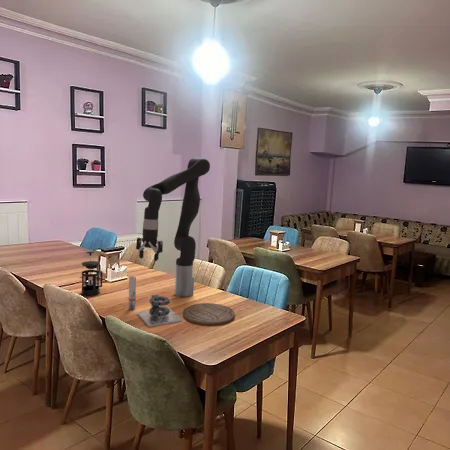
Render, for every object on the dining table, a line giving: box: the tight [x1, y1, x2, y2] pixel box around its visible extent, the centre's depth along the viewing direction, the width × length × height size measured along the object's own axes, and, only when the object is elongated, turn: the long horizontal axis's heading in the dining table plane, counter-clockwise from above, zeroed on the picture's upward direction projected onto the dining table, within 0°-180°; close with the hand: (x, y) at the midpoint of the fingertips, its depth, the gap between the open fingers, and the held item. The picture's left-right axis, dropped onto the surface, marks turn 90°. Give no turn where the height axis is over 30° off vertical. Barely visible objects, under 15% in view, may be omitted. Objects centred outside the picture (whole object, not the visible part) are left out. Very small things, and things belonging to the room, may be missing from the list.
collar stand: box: [136, 294, 183, 328], centre depth 190 cm, size 16×16×9 cm
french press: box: [80, 251, 103, 298], centre depth 218 cm, size 12×9×23 cm
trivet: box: [182, 302, 236, 327], centre depth 197 cm, size 25×25×2 cm
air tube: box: [128, 275, 137, 311], centre depth 199 cm, size 3×3×16 cm
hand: (148, 259), depth 207 cm, fingers open, 8 cm apart
